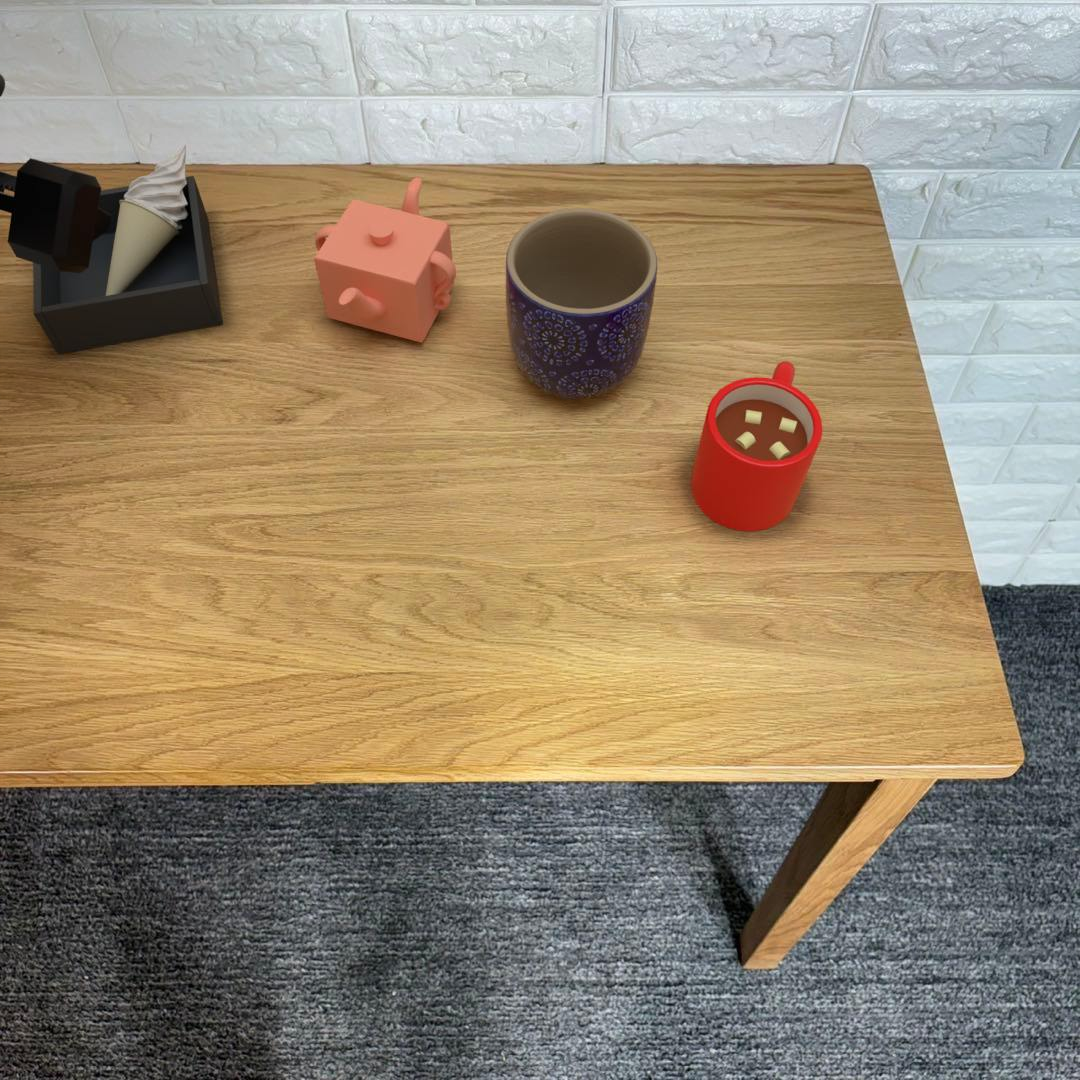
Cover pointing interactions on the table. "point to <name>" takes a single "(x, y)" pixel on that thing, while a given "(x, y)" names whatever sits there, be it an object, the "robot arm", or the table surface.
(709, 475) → the mug
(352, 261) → the teapot
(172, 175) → the ice cream cone
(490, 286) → the table surface
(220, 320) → the storage bin
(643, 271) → the planter
